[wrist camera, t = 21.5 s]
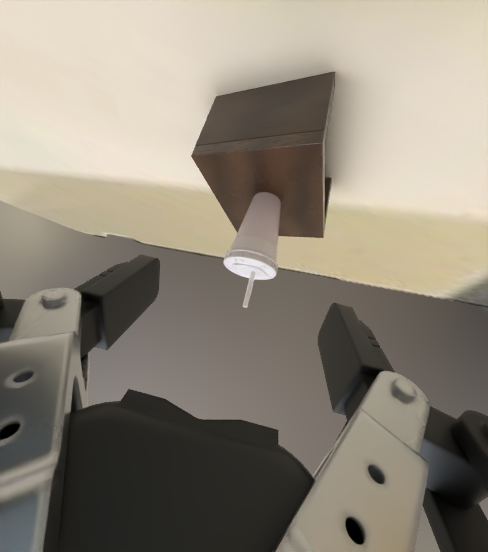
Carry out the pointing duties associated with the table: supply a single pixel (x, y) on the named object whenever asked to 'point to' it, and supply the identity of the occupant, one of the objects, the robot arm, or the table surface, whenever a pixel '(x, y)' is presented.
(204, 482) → the robot arm
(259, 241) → the smoothie
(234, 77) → the table surface
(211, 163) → the shelf
